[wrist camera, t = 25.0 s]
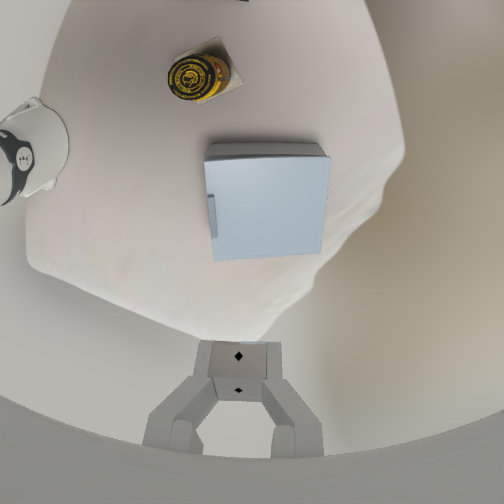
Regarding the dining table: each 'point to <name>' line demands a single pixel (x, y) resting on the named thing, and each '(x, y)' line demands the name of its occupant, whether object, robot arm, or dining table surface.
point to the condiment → (203, 73)
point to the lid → (266, 205)
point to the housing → (261, 150)
